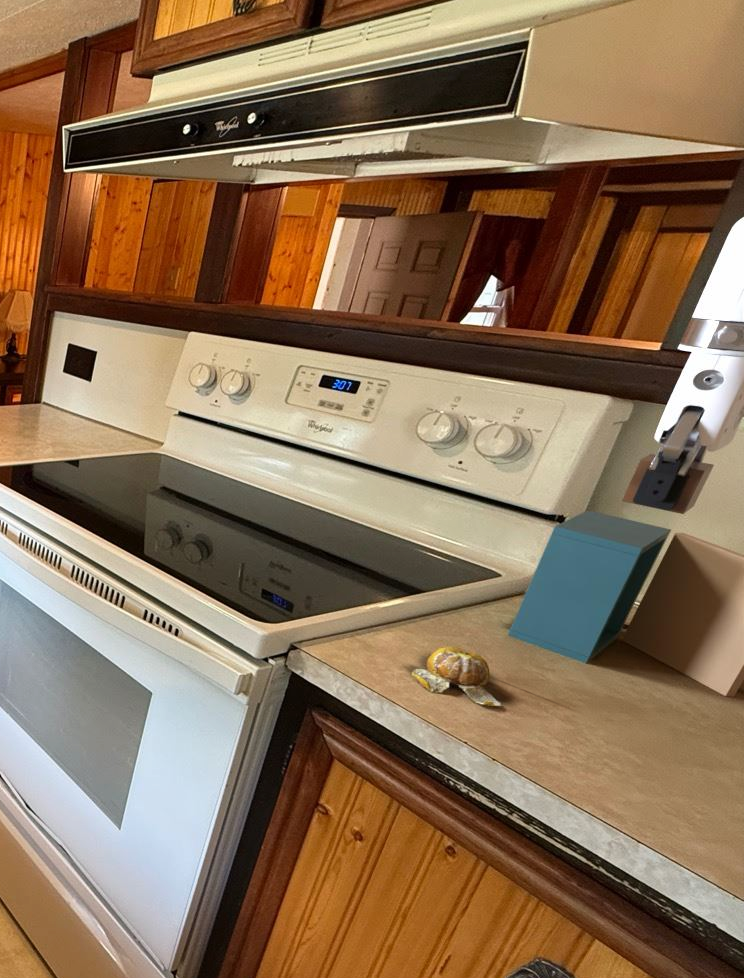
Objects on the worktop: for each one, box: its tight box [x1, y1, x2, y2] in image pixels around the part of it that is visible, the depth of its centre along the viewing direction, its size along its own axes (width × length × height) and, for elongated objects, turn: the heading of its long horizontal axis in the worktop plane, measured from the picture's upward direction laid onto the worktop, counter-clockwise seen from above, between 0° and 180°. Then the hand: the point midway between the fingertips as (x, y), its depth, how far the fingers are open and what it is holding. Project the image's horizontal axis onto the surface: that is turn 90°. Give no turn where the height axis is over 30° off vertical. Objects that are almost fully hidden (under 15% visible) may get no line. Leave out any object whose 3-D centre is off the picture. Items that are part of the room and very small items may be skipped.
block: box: [621, 453, 715, 515], centre depth 82 cm, size 5×5×5 cm
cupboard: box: [507, 509, 672, 664], centre depth 95 cm, size 8×13×16 cm, turn 122°
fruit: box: [411, 646, 503, 707], centre depth 86 cm, size 8×8×4 cm
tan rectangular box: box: [621, 532, 744, 698], centre depth 88 cm, size 8×13×16 cm, turn 177°
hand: (659, 500), depth 83 cm, fingers closed on block, 5 cm apart
